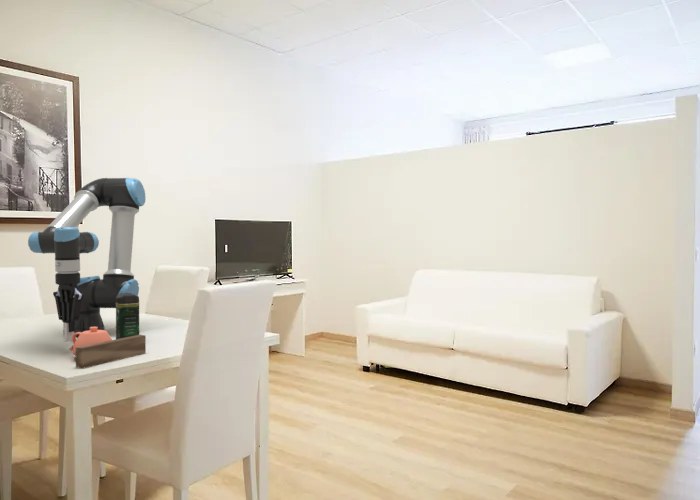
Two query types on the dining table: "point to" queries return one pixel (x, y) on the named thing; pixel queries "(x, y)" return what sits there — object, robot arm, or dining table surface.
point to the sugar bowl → (89, 338)
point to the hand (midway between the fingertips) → (69, 340)
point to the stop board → (110, 350)
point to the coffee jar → (127, 315)
